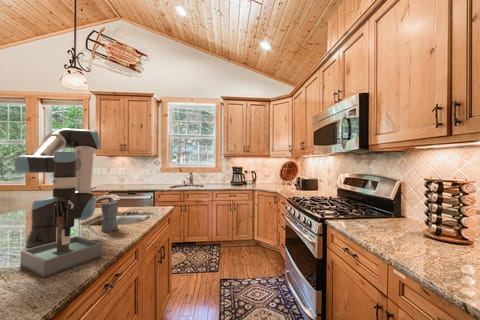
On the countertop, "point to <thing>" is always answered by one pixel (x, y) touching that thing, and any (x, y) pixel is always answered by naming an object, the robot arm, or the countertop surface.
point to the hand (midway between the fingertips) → (63, 242)
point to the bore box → (59, 256)
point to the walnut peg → (60, 236)
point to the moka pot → (109, 215)
